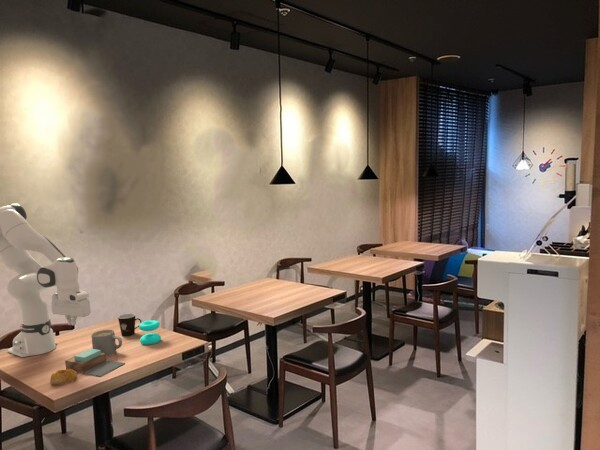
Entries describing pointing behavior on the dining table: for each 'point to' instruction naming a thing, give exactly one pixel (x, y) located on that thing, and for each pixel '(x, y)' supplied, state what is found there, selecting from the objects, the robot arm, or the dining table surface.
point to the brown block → (85, 363)
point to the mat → (103, 368)
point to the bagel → (63, 377)
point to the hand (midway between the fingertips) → (72, 324)
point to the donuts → (150, 337)
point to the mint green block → (87, 355)
